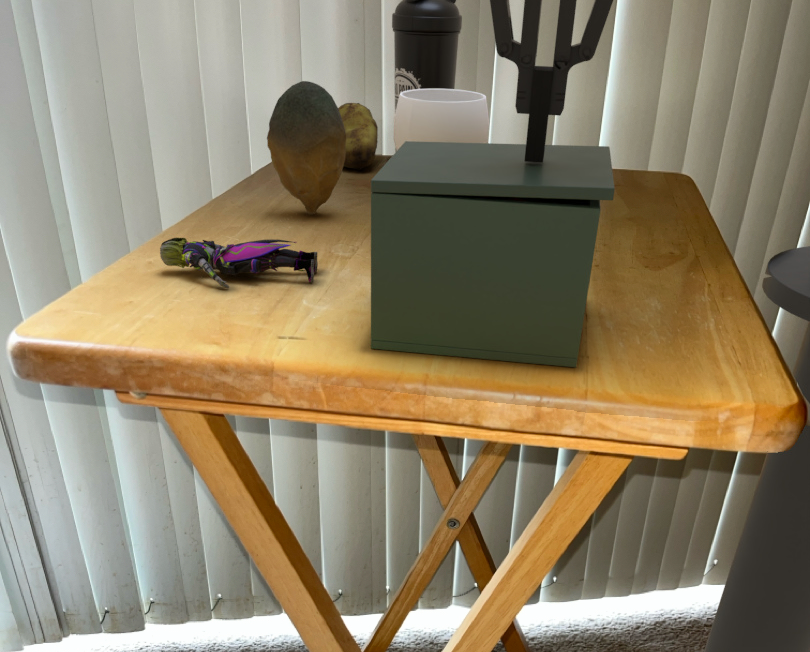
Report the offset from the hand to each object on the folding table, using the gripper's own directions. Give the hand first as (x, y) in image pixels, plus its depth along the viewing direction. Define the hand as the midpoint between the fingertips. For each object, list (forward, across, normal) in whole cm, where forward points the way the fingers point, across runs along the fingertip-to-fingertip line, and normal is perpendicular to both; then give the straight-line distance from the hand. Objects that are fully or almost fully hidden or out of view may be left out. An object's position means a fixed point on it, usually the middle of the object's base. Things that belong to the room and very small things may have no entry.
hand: (534, 158), depth 69 cm
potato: (+15, -29, +62) cm, 70 cm away
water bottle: (+15, -19, +67) cm, 71 cm away
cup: (+15, -11, +27) cm, 33 cm away
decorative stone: (+15, -28, +32) cm, 45 cm away
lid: (+1, -3, 0) cm, 3 cm away
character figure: (+15, -29, +8) cm, 34 cm away
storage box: (+15, -3, 0) cm, 15 cm away
